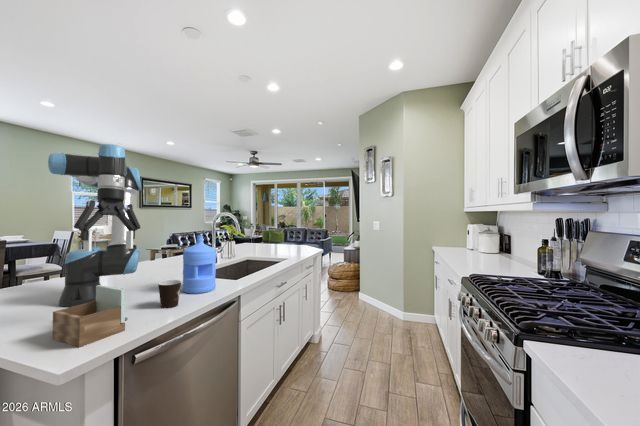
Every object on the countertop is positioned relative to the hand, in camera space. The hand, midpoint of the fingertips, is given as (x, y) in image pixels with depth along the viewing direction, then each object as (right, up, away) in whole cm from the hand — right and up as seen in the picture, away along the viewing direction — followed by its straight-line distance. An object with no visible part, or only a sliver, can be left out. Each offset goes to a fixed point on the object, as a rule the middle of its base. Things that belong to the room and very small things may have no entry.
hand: (109, 249), depth 95 cm
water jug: (+10, -27, +47) cm, 56 cm away
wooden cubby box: (-2, -27, -5) cm, 27 cm away
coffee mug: (+8, -27, +24) cm, 37 cm away
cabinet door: (0, -24, +1) cm, 24 cm away
